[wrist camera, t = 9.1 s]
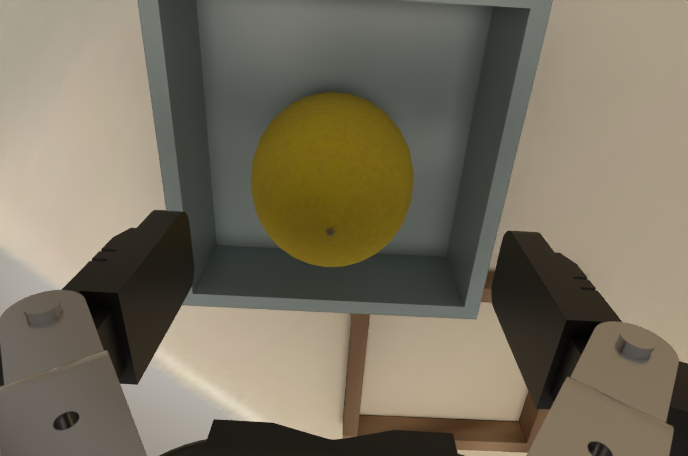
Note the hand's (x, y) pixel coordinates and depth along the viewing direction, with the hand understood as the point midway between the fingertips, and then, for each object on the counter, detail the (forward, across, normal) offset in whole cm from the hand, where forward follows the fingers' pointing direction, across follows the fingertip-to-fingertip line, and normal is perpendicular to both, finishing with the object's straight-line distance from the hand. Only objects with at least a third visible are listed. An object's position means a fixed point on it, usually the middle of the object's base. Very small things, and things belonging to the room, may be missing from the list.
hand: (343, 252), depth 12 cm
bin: (+10, 0, 0) cm, 10 cm away
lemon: (+9, +1, 0) cm, 9 cm away
